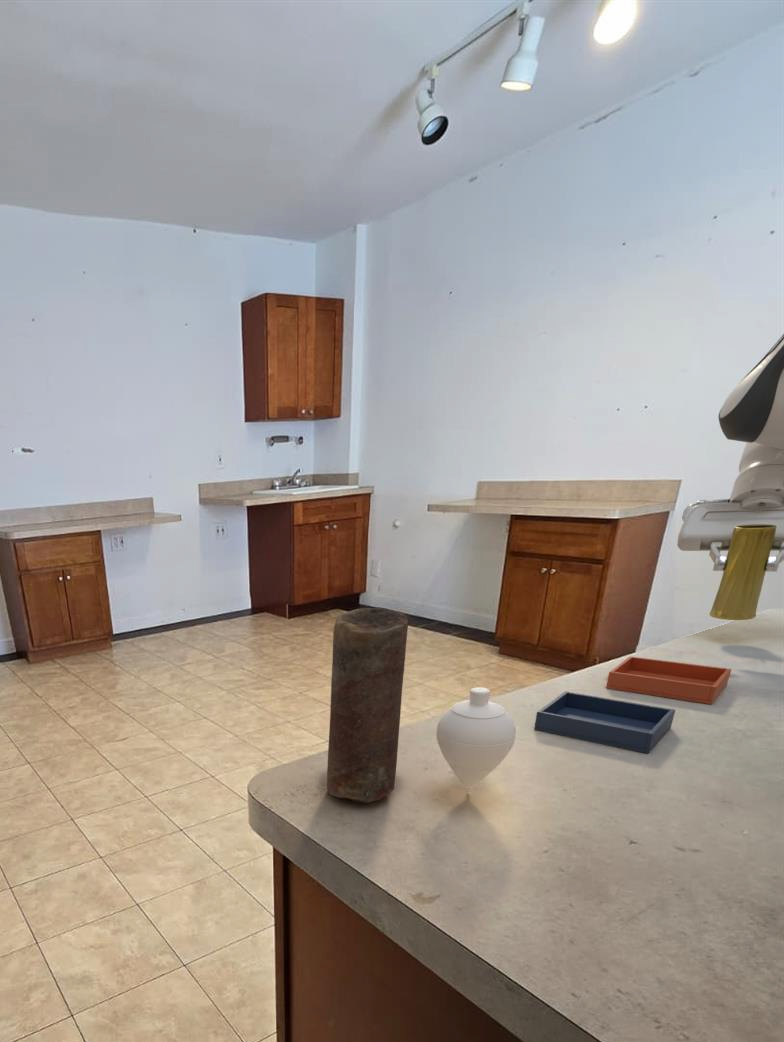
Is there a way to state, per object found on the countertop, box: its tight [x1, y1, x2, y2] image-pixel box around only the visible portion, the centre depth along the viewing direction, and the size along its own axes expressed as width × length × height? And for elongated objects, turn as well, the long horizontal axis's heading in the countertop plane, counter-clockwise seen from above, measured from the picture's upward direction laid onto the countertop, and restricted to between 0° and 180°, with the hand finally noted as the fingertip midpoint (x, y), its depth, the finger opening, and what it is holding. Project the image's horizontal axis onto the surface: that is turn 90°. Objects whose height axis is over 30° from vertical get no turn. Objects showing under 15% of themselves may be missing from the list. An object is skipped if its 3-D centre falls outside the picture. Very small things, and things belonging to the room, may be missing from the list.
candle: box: [326, 607, 409, 804], centre depth 67 cm, size 8×7×20 cm
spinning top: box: [435, 686, 517, 795], centre depth 67 cm, size 8×8×12 cm
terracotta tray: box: [605, 656, 732, 705], centre depth 94 cm, size 13×10×2 cm
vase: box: [709, 524, 777, 621], centre depth 104 cm, size 6×6×14 cm
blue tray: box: [534, 691, 676, 754], centre depth 82 cm, size 13×10×2 cm
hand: (744, 569), depth 103 cm, fingers closed on vase, 5 cm apart
